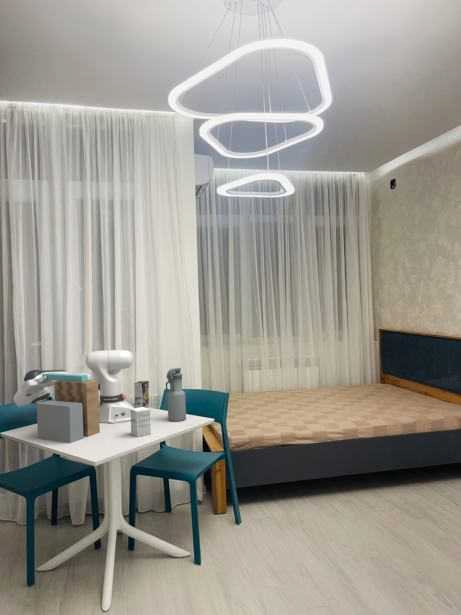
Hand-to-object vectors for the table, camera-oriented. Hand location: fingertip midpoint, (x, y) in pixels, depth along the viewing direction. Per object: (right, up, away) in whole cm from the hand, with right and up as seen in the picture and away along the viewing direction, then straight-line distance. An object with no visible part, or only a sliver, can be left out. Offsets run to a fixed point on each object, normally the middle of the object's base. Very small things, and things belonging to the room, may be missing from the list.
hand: (50, 375), depth 240 cm
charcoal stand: (+12, -28, -18) cm, 35 cm away
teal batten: (+9, -2, -5) cm, 10 cm away
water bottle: (+65, -26, +11) cm, 71 cm away
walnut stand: (+17, -27, -8) cm, 33 cm away
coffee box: (+39, -27, +46) cm, 66 cm away
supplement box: (+51, -27, -16) cm, 59 cm away
